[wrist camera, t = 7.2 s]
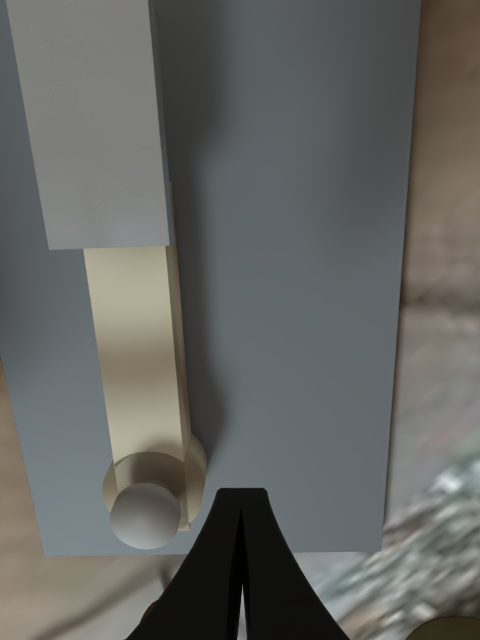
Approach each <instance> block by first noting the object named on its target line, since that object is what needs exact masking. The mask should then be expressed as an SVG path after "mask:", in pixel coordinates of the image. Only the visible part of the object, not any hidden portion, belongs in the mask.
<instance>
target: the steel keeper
mask: <svg viewBox="0 0 480 640" xmlns="http://www.w3.org/2000/svg"><path fill="white" fill-rule="evenodd" d="M6 4H7V10H8V15H9V21H10V27H11V33H12V39H13V44H14V50H15V56H16V62H17V68H18V73H19V79H20V85H21V91H22V97H23V102H24V108H25V114H26V120H27V126H28V131H29V137H30V143H31V149H32V154H33V160H34V166H35V172H36V178H37V183H38V189H39V195H40V201H41V207H42V212H43V218H44V224H45V230H46V236H47V241H48V247H49V250H63V249H89V248H116V247H142V246H169V245H171V244H172V243H173V242H174V230H173V218H172V206H171V194H170V183H169V171H168V159H167V147H166V135H165V124H164V112H163V100H162V99H163V88H162V77H161V65H160V53H159V41H158V29H157V17H156V7H155V5H154V0H6Z"/></svg>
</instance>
